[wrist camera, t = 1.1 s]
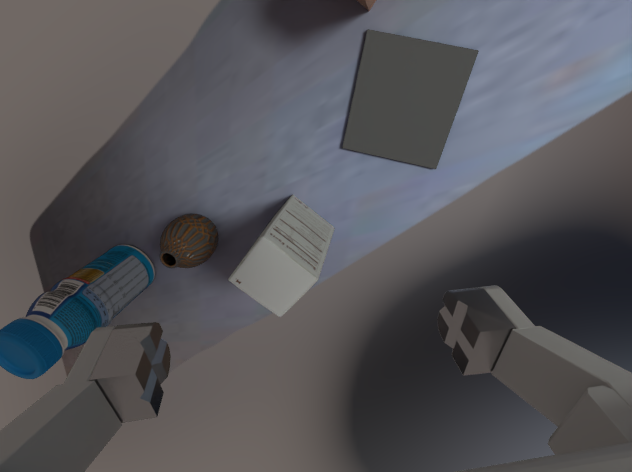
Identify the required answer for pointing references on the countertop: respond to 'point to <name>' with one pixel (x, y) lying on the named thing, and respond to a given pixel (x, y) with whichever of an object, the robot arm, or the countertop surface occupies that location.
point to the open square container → (367, 3)
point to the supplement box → (285, 257)
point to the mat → (406, 97)
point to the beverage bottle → (74, 310)
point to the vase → (188, 241)
